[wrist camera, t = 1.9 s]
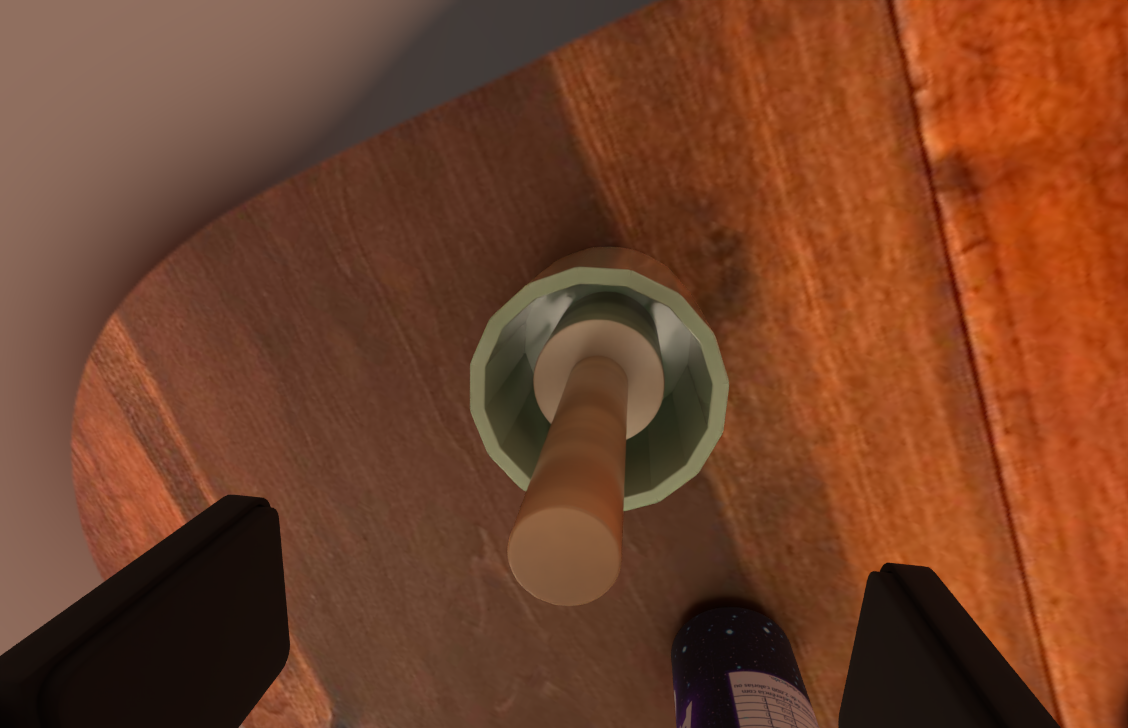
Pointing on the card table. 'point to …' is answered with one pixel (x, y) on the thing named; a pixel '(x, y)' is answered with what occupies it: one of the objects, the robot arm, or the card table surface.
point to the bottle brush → (585, 447)
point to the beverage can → (737, 674)
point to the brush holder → (687, 355)
